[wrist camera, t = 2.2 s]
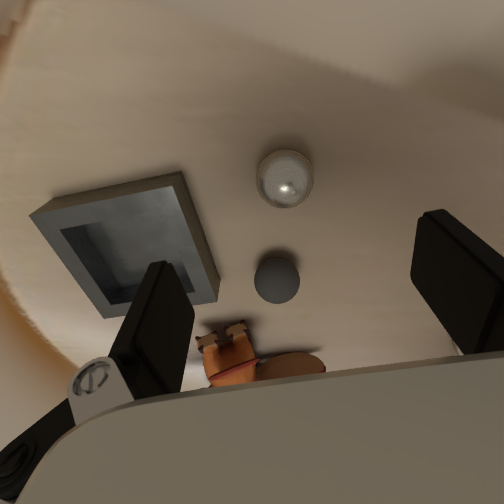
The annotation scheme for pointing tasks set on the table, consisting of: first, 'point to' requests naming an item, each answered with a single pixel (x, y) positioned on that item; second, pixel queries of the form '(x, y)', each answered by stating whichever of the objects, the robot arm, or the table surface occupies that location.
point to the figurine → (249, 360)
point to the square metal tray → (129, 240)
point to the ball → (277, 280)
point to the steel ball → (284, 178)
